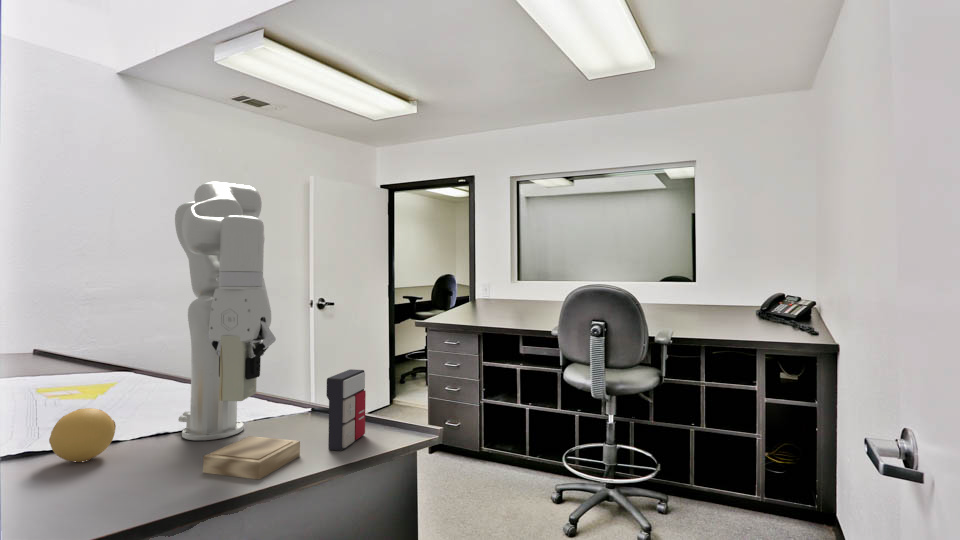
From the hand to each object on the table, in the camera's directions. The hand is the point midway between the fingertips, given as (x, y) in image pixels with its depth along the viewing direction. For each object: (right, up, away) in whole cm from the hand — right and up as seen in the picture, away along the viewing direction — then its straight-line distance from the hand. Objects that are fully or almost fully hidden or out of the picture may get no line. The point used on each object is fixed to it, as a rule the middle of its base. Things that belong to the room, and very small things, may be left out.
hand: (239, 376), depth 92 cm
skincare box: (0, -4, 0) cm, 4 cm away
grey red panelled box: (+17, -18, +14) cm, 28 cm away
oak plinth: (+2, -17, +1) cm, 17 cm away
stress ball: (-32, -17, +2) cm, 36 cm away
